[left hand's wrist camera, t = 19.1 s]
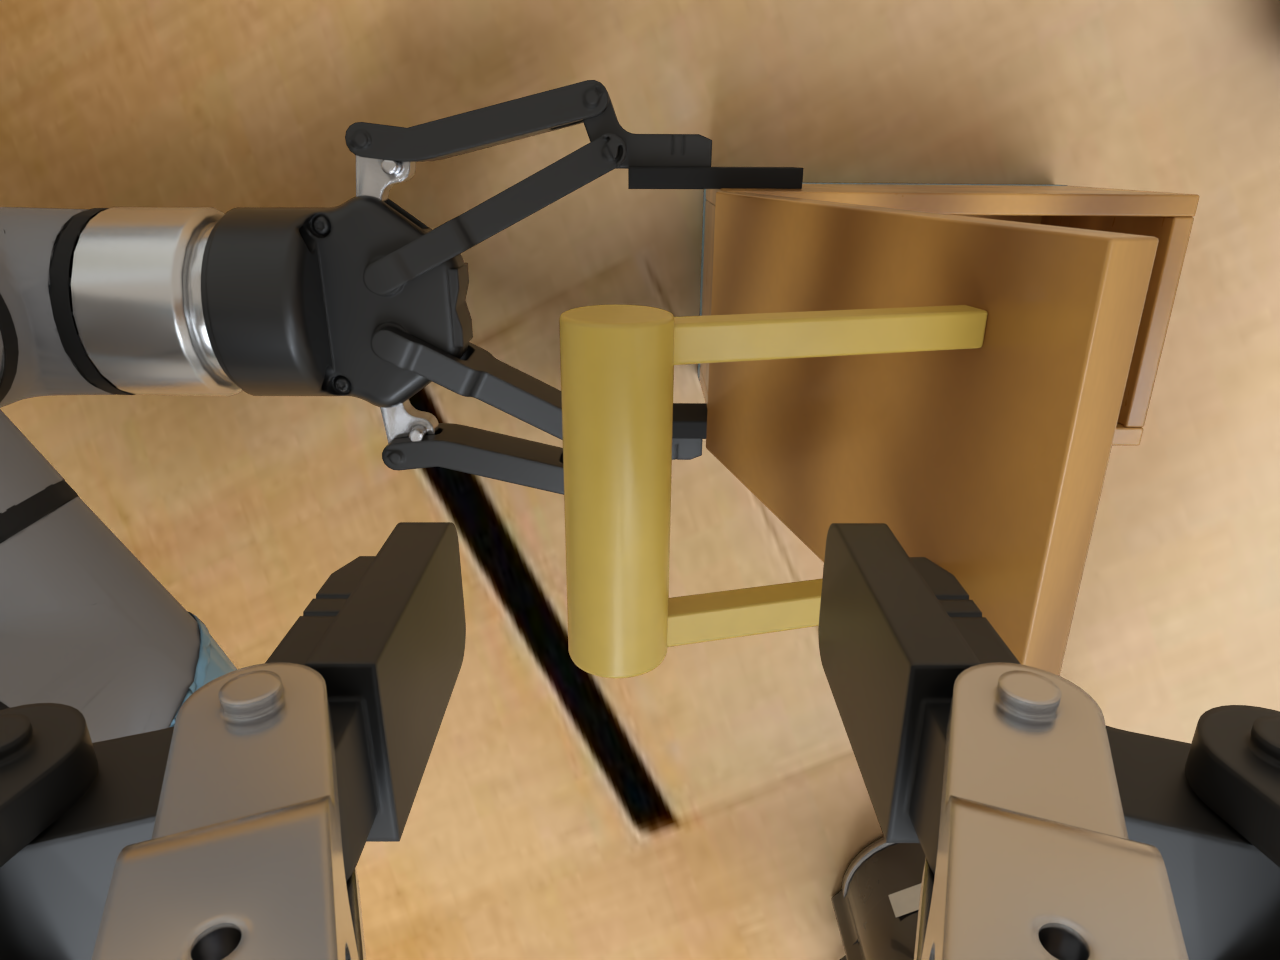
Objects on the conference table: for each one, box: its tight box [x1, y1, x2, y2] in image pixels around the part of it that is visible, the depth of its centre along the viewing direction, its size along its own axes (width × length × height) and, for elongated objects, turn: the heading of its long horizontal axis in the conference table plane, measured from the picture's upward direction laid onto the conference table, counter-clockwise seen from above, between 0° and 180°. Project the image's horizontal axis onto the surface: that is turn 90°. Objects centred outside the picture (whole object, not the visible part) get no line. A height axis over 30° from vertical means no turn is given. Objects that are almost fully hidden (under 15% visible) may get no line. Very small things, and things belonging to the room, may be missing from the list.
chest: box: [698, 183, 1199, 445], centre depth 35 cm, size 16×9×11 cm, turn 90°
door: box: [559, 192, 1159, 678], centre depth 21 cm, size 17×9×9 cm
